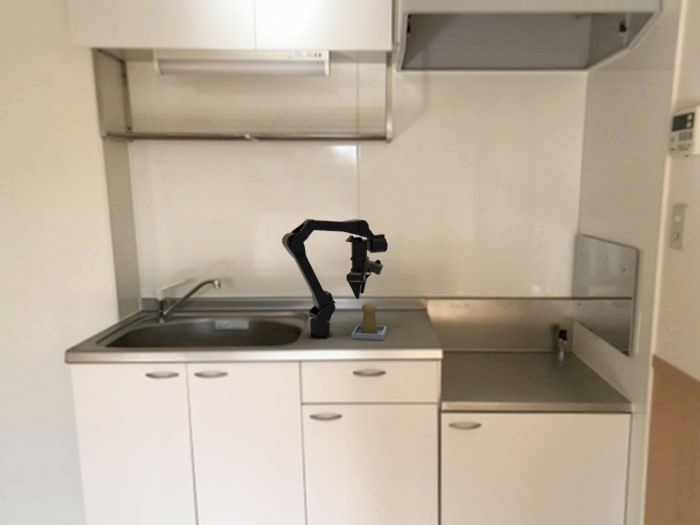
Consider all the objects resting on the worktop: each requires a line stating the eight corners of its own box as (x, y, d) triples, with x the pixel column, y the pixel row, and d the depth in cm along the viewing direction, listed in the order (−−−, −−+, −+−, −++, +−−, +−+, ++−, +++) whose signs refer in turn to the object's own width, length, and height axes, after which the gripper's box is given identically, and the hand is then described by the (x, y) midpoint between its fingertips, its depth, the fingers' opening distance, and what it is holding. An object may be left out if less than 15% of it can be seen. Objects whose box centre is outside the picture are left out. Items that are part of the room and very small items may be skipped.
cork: (378, 331, 169) (378, 302, 168) (377, 336, 163) (377, 305, 162) (361, 331, 170) (361, 301, 168) (360, 336, 164) (359, 305, 162)
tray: (352, 339, 162) (351, 333, 162) (357, 330, 173) (357, 324, 173) (382, 340, 160) (382, 334, 160) (386, 331, 171) (386, 326, 170)
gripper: (377, 257, 159) (378, 302, 161) (384, 251, 177) (384, 291, 179) (345, 257, 161) (346, 301, 163) (355, 250, 179) (356, 290, 181)
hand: (359, 296), depth 171 cm, fingers open, 9 cm apart
